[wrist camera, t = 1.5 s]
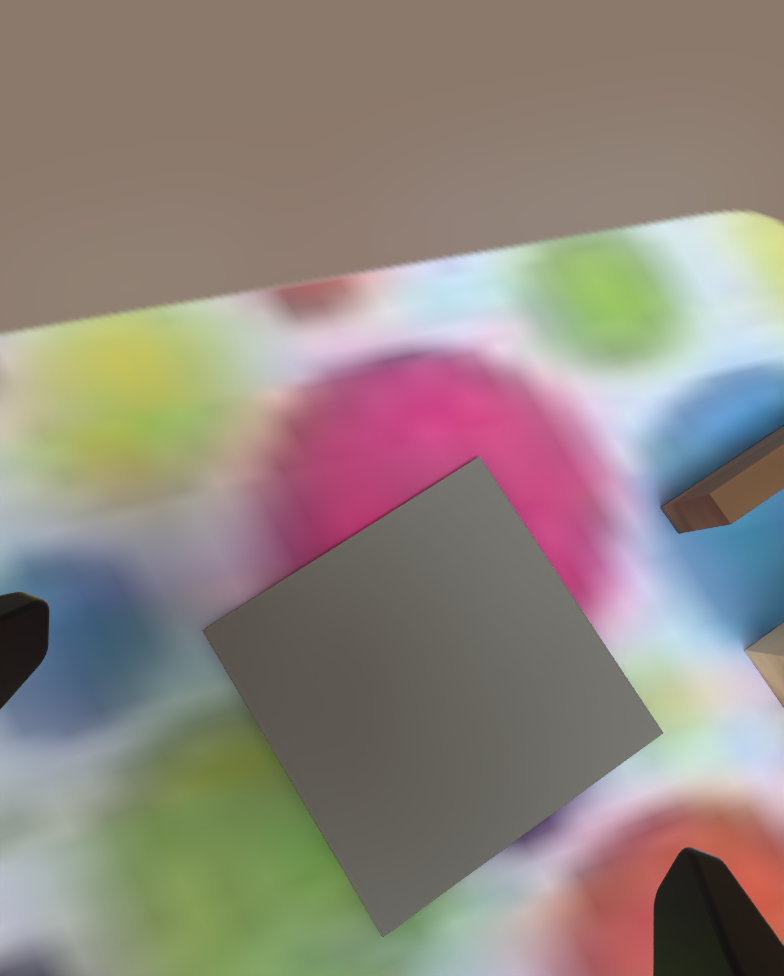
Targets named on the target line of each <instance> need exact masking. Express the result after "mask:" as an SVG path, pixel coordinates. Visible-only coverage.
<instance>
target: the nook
mask: <svg viewBox="0 0 784 976" xmlns="http://www.w3.org/2000/svg"><path fill="white" fill-rule="evenodd" d="M783 488H784V425H783V426H781V427H780V428H778V429H777V430H775V431H774V432H772V433H771V434H769V435H768V436H766V437H765V438H763V439H762V440H761V441H759V442H758V443H756V444H755V445H753V446H752V447H750V448H749V449H747V450H746V451H744V452H743V453H741V454H740V455H738V456H737V457H735V458H734V459H732V460H731V461H729V462H728V463H726V464H725V465H723V466H722V467H720V468H719V469H717V470H716V471H714V472H713V473H711V474H710V475H708V476H707V477H705V478H704V479H702V480H701V481H699V482H698V483H696V484H695V485H693V486H692V487H690V488H689V489H687V490H686V491H684V492H683V493H681V494H680V495H678V496H677V497H675V498H674V499H672V500H671V501H669V502H668V503H666V504H665V505H664V506H662V507H661V509H662V510H663V511H664V513H665V514H666V516H667V517H668V519H669V520H670V521H671V523H672V524H673V526H674V527H675V529H676V530H677V532H678V533H684V532H690V531H695V530H701V529H707V528H712V527H718V526H723V525H729V524H732V523H733V522H735V521H736V520H738V519H739V518H741V517H742V516H744V515H745V514H746V513H748V512H749V511H751V510H752V509H754V508H755V507H757V506H758V505H760V504H761V503H763V502H764V501H765V500H767V499H768V498H770V497H771V496H773V495H774V494H776V493H777V492H779V491H780V490H781V489H783Z"/></svg>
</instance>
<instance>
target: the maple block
mask: <svg viewBox="0 0 784 976" xmlns="http://www.w3.org/2000/svg"><path fill="white" fill-rule="evenodd" d="M744 651H745V652H746V653H747V655H748V656H749V658H750V659H751V661H752V662H753V664H754V665H755V666H756V668H757V669H758V671H759V672H760V674H761V675H762V677H763V678H764V679H765V681H766V682H767V684H768V685H769V687H770V688H771V690H772V691H773V692H774V694H775V695H776V697H777V698H778V700H779V701H780V703H781V704H782V705H783V707H784V622H783V623H782V624H780V625H779V626H777V627H776V628H775V629H773V630H772V631H771V632H769V633H768V634H766V635H765V636H764V637H762V638H761V639H759V640H758V641H757V642H755V643H754V644H753V645H751V646H750V647H748V648H747V649H746V650H744Z"/></svg>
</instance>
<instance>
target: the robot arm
mask: <svg viewBox="0 0 784 976" xmlns="http://www.w3.org/2000/svg"><path fill="white" fill-rule="evenodd" d="M48 635H49V607H48V604H47V602H45V601H44V600H42V599H40V598H37V597H35V596H32V595H29V594H27V593H23V592H15V593H10V594H6V595H1V596H0V709H1V708H2V707H3V706H4V705H5V704H6V703H7V701H8V700H9V699H10V698H11V697H12V696H13V695H14V693H15V692H16V691H17V690H18V689H19V688H20V687H21V685H22V684H23V683H24V682H25V681H26V680H27V679H28V677H29V676H30V675H31V674H32V673H33V672H34V671H35V670H36V668H37V667H38V666H39V665H40V664H41V662H42V661H43V659H44V657H45V655H46V652H47V649H48ZM653 976H784V945H783V944H782V942H781V941H780V940H779V938H778V937H777V935H776V934H775V933H774V931H773V930H772V929H771V927H770V926H769V924H768V923H767V922H766V920H765V919H764V917H763V916H762V915H761V913H760V912H759V910H758V909H757V908H756V906H755V905H754V903H753V902H752V901H751V899H750V898H749V897H748V895H747V894H746V892H745V891H744V890H743V888H742V887H741V885H740V884H739V883H738V881H737V880H736V878H735V877H734V876H733V874H732V873H731V871H730V870H729V869H728V867H727V866H726V865H725V864H724V862H723V861H721V860H720V859H719V858H717V857H715V856H712V855H710V854H707V853H705V852H702V851H699V850H697V849H694V848H691V847H687V848H684V849H683V850H681V852H680V853H679V854H678V856H677V858H676V859H675V861H674V863H673V864H672V866H671V868H670V869H669V871H668V873H667V874H666V876H665V878H664V879H663V881H662V883H661V884H660V886H659V888H658V890H657V893H656V897H655V902H654V932H653Z"/></svg>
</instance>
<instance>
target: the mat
mask: <svg viewBox="0 0 784 976" xmlns="http://www.w3.org/2000/svg"><path fill="white" fill-rule="evenodd" d="M203 632H204V634H205V636H206V637H207V639H208V641H209V643H210V644H211V646H212V648H213V649H214V651H215V653H216V654H217V656H218V658H219V660H220V661H221V663H222V665H223V666H224V668H225V670H226V671H227V673H228V675H229V677H230V678H231V680H232V682H233V683H234V685H235V687H236V689H237V690H238V692H239V694H240V695H241V697H242V699H243V700H244V702H245V704H246V706H247V707H248V709H249V711H250V712H251V714H252V716H253V718H254V719H255V721H256V723H257V724H258V726H259V728H260V729H261V731H262V733H263V735H264V736H265V738H266V740H267V741H268V743H269V745H270V747H271V748H272V750H273V752H274V753H275V755H276V757H277V758H278V760H279V762H280V764H281V765H282V767H283V769H284V770H285V772H286V774H287V776H288V777H289V779H290V781H291V782H292V784H293V786H294V787H295V789H296V791H297V793H298V794H299V796H300V798H301V799H302V801H303V803H304V804H305V806H306V808H307V810H308V811H309V813H310V815H311V816H312V818H313V820H314V822H315V823H316V825H317V827H318V828H319V830H320V832H321V833H322V835H323V837H324V839H325V840H326V842H327V844H328V845H329V847H330V849H331V851H332V852H333V854H334V856H335V857H336V859H337V861H338V862H339V864H340V866H341V868H342V869H343V871H344V873H345V874H346V876H347V878H348V880H349V881H350V883H351V885H352V886H353V888H354V890H355V891H356V893H357V895H358V897H359V898H360V900H361V902H362V903H363V905H364V907H365V909H366V910H367V912H368V914H369V915H370V917H371V919H372V920H373V922H374V924H375V926H376V927H377V929H378V931H379V932H380V934H381V936H382V937H384V936H385V935H386V934H388V933H389V932H390V931H392V930H393V929H395V928H396V927H397V926H399V925H400V924H401V923H403V922H404V921H406V920H407V919H408V918H410V917H411V916H412V915H414V914H415V913H417V912H418V911H419V910H421V909H422V908H423V907H425V906H426V905H428V904H429V903H430V902H432V901H433V900H434V899H436V898H437V897H439V896H440V895H441V894H443V893H444V892H445V891H447V890H448V889H450V888H451V887H452V886H454V885H455V884H456V883H458V882H459V881H461V880H462V879H463V878H465V877H466V876H467V875H469V874H470V873H472V872H473V871H474V870H476V869H477V868H478V867H480V866H481V865H483V864H484V863H485V862H487V861H488V860H489V859H491V858H492V857H494V856H495V855H496V854H498V853H499V852H500V851H502V850H503V849H505V848H506V847H507V846H509V845H510V844H511V843H513V842H514V841H516V840H517V839H518V838H520V837H521V836H522V835H524V834H525V833H527V832H528V831H529V830H531V829H532V828H533V827H535V826H536V825H538V824H539V823H540V822H542V821H543V820H544V819H546V818H547V817H549V816H550V815H551V814H553V813H554V812H555V811H557V810H558V809H560V808H561V807H562V806H564V805H565V804H566V803H568V802H569V801H571V800H572V799H573V798H575V797H576V796H577V795H579V794H580V793H582V792H583V791H584V790H586V789H587V788H588V787H590V786H591V785H593V784H594V783H595V782H597V781H598V780H599V779H601V778H602V777H604V776H605V775H606V774H608V773H609V772H610V771H612V770H613V769H615V768H616V767H617V766H619V765H620V764H621V763H623V762H624V761H626V760H627V759H628V758H630V757H631V756H632V755H634V754H635V753H637V752H638V751H639V750H641V749H642V748H643V747H645V746H646V745H648V744H649V743H650V742H652V741H653V740H654V739H656V738H657V737H659V736H660V735H661V734H663V732H662V730H661V729H660V727H659V726H658V724H657V723H656V721H655V720H654V718H653V717H652V715H651V714H650V712H649V711H648V709H647V708H646V706H645V705H644V703H643V702H642V700H641V699H640V697H639V696H638V694H637V693H636V691H635V690H634V688H633V687H632V685H631V684H630V682H629V681H628V679H627V678H626V676H625V675H624V673H623V672H622V670H621V669H620V667H619V666H618V664H617V663H616V661H615V660H614V658H613V657H612V655H611V654H610V652H609V651H608V649H607V648H606V646H605V645H604V643H603V642H602V640H601V638H600V637H599V635H598V634H597V632H596V631H595V629H594V628H593V626H592V625H591V623H590V622H589V620H588V619H587V617H586V616H585V614H584V613H583V611H582V610H581V608H580V607H579V605H578V604H577V602H576V601H575V599H574V598H573V596H572V595H571V593H570V592H569V590H568V589H567V587H566V586H565V584H564V583H563V581H562V580H561V578H560V577H559V575H558V574H557V572H556V571H555V569H554V568H553V566H552V565H551V563H550V562H549V560H548V559H547V557H546V556H545V554H544V553H543V551H542V550H541V548H540V547H539V545H538V544H537V542H536V541H535V539H534V538H533V536H532V535H531V533H530V532H529V530H528V529H527V527H526V526H525V524H524V523H523V521H522V520H521V518H520V517H519V515H518V514H517V512H516V511H515V509H514V508H513V506H512V505H511V503H510V502H509V500H508V499H507V497H506V496H505V494H504V493H503V491H502V490H501V488H500V487H499V485H498V484H497V482H496V481H495V479H494V478H493V476H492V475H491V473H490V472H489V470H488V469H487V467H486V466H485V464H484V463H483V461H482V460H481V458H480V457H478V458H476V459H474V460H473V461H471V462H470V463H468V464H467V465H465V466H463V467H462V468H460V469H459V470H457V471H455V472H454V473H452V474H451V475H449V476H447V477H446V478H444V479H443V480H441V481H440V482H438V483H436V484H435V485H433V486H432V487H430V488H428V489H427V490H425V491H424V492H422V493H420V494H419V495H417V496H416V497H414V498H412V499H411V500H409V501H408V502H406V503H405V504H403V505H401V506H400V507H398V508H397V509H395V510H393V511H392V512H390V513H389V514H387V515H385V516H384V517H382V518H381V519H379V520H377V521H376V522H374V523H373V524H371V525H370V526H368V527H366V528H365V529H363V530H362V531H360V532H358V533H357V534H355V535H354V536H352V537H350V538H349V539H347V540H346V541H344V542H342V543H341V544H339V545H338V546H336V547H335V548H333V549H331V550H330V551H328V552H327V553H325V554H323V555H322V556H320V557H319V558H317V559H315V560H314V561H312V562H311V563H309V564H307V565H306V566H304V567H303V568H301V569H300V570H298V571H296V572H295V573H293V574H292V575H290V576H288V577H287V578H285V579H284V580H282V581H280V582H279V583H277V584H276V585H274V586H272V587H271V588H269V589H268V590H266V591H265V592H263V593H261V594H260V595H258V596H257V597H255V598H253V599H252V600H250V601H249V602H247V603H245V604H244V605H242V606H241V607H239V608H238V609H236V610H234V611H233V612H231V613H230V614H228V615H226V616H225V617H223V618H222V619H220V620H218V621H217V622H215V623H214V624H212V625H210V626H209V627H207V628H206V629H204V630H203Z"/></svg>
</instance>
